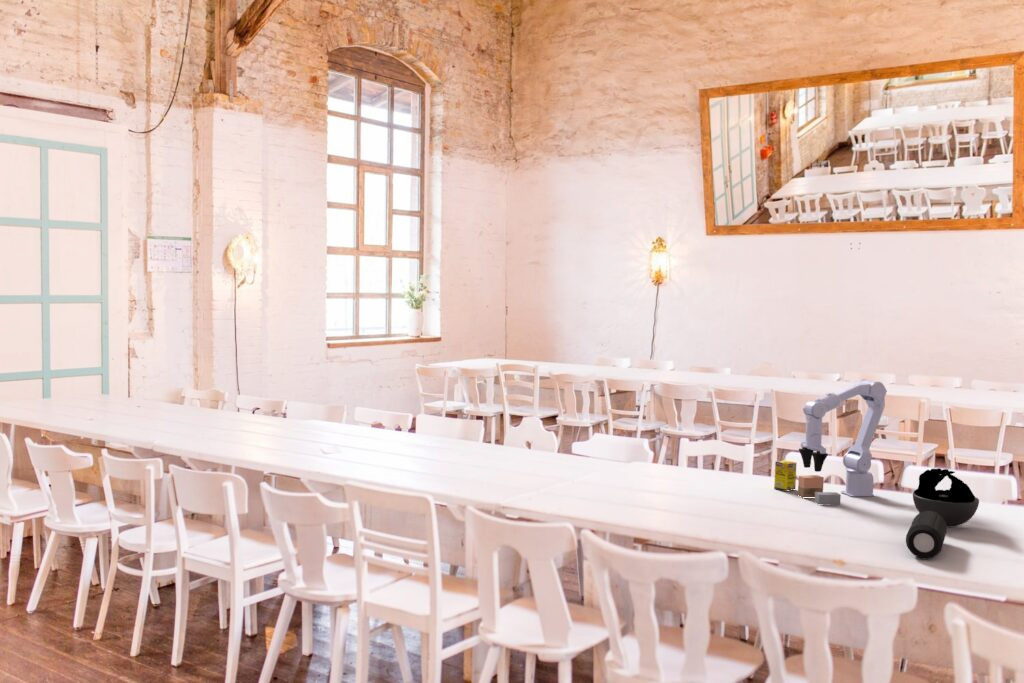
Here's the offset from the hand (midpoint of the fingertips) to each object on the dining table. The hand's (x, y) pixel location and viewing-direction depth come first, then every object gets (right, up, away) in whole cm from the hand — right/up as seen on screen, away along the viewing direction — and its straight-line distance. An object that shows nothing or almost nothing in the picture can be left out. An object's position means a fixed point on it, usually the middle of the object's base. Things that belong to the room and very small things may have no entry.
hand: (812, 469), depth 350 cm
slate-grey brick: (+2, -11, -11) cm, 16 cm away
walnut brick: (-1, -11, 0) cm, 11 cm away
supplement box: (-7, -10, +12) cm, 17 cm away
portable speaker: (+12, -15, -70) cm, 73 cm away
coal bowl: (+31, -14, -41) cm, 53 cm away
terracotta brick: (-1, -7, -1) cm, 7 cm away
